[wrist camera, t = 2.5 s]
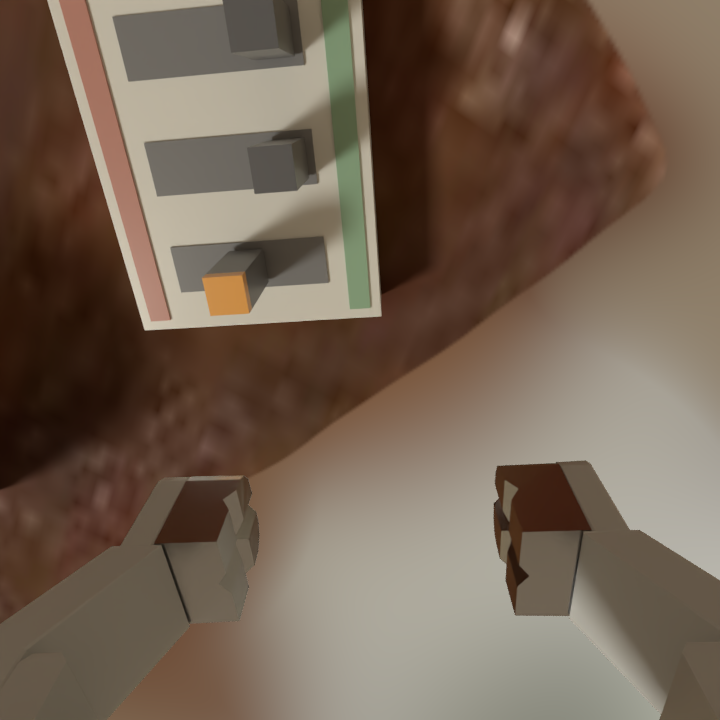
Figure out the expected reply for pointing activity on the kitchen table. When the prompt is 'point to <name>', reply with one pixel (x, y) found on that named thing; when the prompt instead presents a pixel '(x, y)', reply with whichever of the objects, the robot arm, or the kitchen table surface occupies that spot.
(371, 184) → the breaker box
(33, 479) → the kitchen table surface
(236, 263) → the breaker handle
